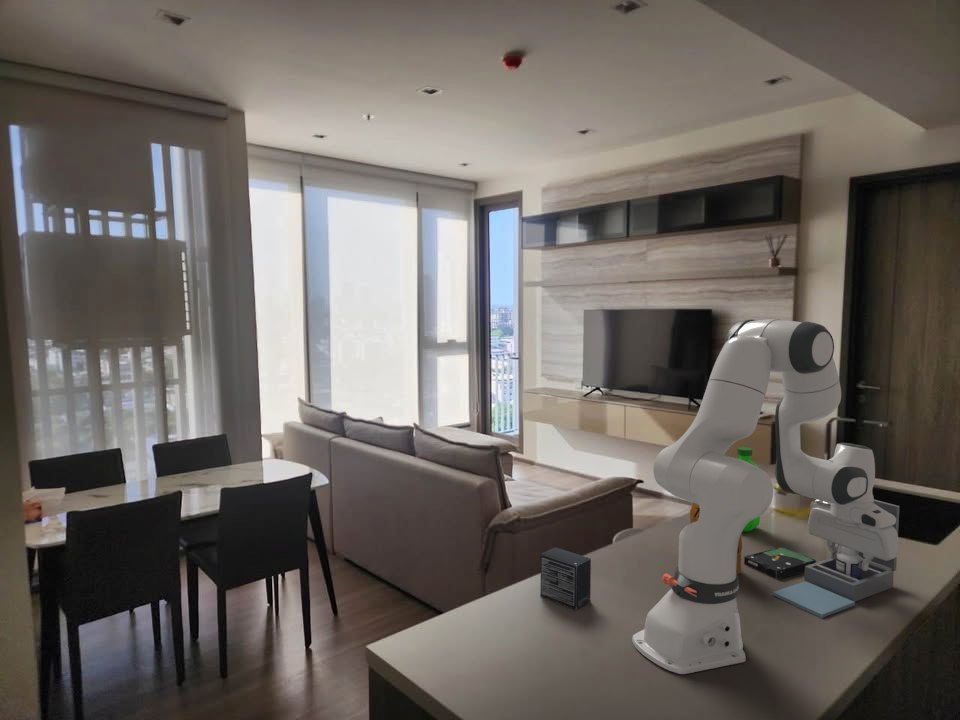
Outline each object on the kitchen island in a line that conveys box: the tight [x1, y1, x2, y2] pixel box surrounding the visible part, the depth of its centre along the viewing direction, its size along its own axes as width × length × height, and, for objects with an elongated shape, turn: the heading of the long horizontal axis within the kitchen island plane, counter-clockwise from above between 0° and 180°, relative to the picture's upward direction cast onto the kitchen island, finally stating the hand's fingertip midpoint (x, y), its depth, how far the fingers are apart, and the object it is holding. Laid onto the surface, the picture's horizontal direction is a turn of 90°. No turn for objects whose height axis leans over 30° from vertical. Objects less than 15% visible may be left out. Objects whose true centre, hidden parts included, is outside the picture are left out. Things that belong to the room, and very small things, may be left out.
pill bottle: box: [836, 545, 862, 580], centre depth 148 cm, size 5×5×10 cm
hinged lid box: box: [803, 499, 900, 603], centre depth 148 cm, size 17×13×20 cm
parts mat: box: [772, 581, 856, 619], centre depth 141 cm, size 12×12×1 cm
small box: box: [539, 547, 592, 611], centre depth 142 cm, size 11×6×10 cm, turn 47°
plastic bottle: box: [736, 446, 761, 533], centre depth 185 cm, size 10×10×25 cm
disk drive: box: [743, 547, 817, 580], centre depth 159 cm, size 10×3×15 cm
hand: (849, 564), depth 148 cm, fingers closed on pill bottle, 5 cm apart
